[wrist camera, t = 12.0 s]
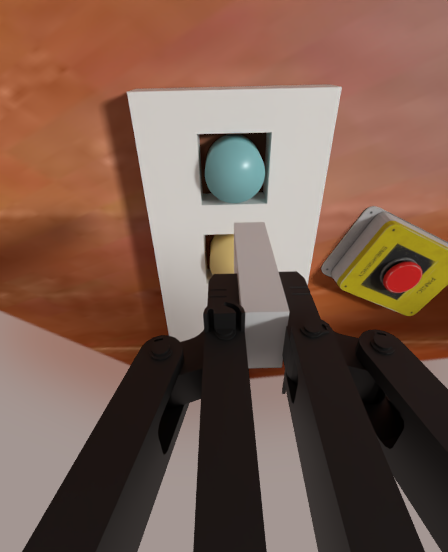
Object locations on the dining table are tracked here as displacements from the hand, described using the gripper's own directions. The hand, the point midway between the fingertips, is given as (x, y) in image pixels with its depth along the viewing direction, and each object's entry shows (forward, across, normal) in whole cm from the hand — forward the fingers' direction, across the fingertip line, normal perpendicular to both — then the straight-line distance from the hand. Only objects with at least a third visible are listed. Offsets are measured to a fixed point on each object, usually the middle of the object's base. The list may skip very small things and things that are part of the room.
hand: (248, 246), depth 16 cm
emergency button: (+17, -18, +12) cm, 28 cm away
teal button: (+16, 0, 0) cm, 16 cm away
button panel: (+16, 0, +9) cm, 18 cm away
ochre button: (+16, 0, +9) cm, 18 cm away
